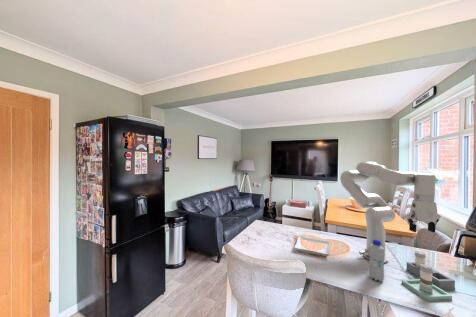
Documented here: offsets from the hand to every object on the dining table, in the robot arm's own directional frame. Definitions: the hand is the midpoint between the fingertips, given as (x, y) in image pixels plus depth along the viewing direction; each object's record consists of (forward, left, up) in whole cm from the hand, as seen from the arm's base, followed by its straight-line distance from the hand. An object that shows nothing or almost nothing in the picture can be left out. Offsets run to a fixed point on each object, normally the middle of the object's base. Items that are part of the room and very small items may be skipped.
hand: (421, 231), depth 98 cm
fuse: (+7, +7, -25) cm, 27 cm away
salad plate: (-39, +37, -26) cm, 60 cm away
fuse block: (+7, +2, -25) cm, 26 cm away
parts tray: (-5, -7, -25) cm, 27 cm away
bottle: (-21, +3, -26) cm, 34 cm away
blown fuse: (-5, -7, -25) cm, 26 cm away
